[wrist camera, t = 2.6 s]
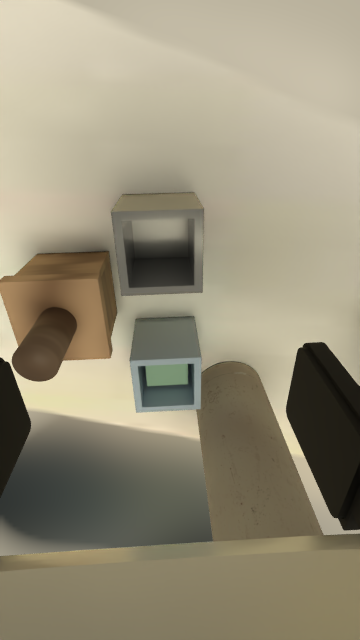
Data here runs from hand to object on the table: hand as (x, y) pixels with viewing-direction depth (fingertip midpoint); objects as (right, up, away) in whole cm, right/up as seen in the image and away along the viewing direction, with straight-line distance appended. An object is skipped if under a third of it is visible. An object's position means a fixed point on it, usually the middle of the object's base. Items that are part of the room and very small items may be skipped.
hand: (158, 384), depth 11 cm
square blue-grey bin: (-1, 0, +24) cm, 24 cm away
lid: (-9, +2, +15) cm, 17 cm away
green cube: (-1, -1, +23) cm, 23 cm away
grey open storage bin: (-1, +10, +18) cm, 20 cm away
